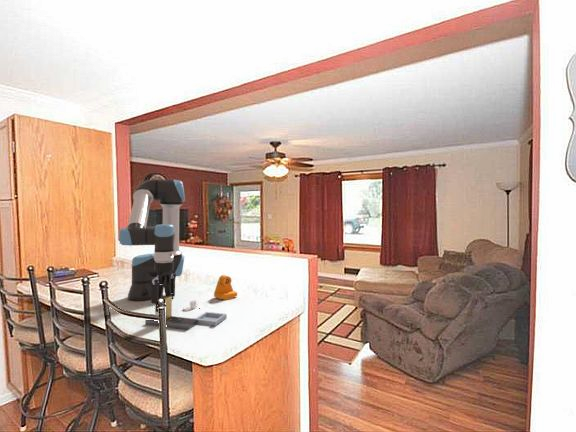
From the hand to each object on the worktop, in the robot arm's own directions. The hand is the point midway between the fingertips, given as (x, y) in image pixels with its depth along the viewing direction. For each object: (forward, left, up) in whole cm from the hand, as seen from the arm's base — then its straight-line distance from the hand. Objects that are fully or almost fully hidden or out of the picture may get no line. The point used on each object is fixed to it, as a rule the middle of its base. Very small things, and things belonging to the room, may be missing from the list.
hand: (163, 316), depth 126 cm
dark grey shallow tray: (+4, 0, -3) cm, 5 cm away
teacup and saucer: (-2, +21, -4) cm, 21 cm away
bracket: (+7, +44, -3) cm, 45 cm away
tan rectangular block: (0, 0, -3) cm, 3 cm away
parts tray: (+17, +9, -3) cm, 19 cm away
